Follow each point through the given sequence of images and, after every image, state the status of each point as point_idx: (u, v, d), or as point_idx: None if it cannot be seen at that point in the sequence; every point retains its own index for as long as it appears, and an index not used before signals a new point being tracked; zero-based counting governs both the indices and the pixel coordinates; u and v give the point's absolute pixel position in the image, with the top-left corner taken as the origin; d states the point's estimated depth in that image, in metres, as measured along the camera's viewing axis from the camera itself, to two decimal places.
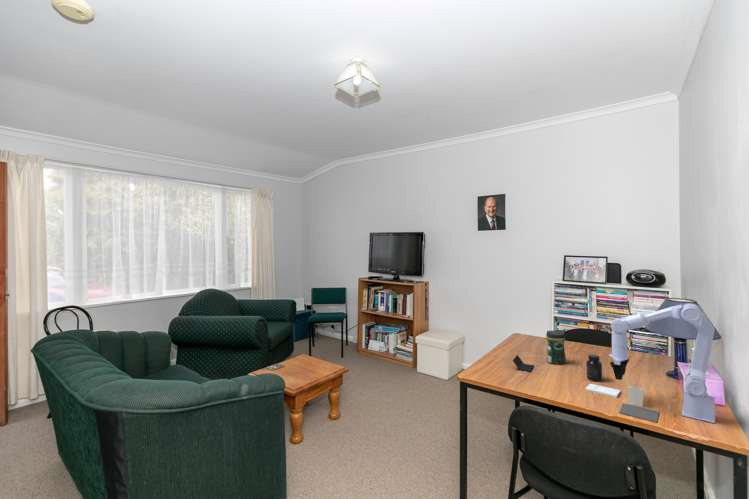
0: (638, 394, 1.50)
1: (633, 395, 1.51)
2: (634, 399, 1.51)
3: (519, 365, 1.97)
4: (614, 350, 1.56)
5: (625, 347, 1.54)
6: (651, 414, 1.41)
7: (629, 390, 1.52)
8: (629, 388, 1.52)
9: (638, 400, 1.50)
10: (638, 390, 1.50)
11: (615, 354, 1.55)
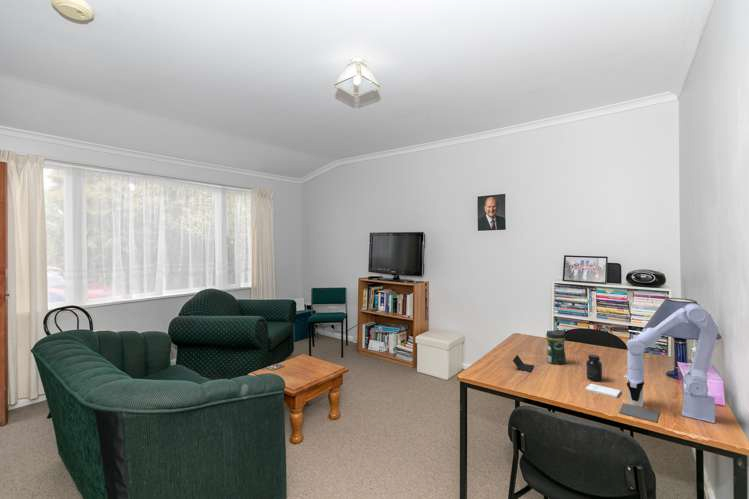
0: None
1: None
2: None
3: (519, 365, 1.97)
4: (630, 372, 1.51)
5: (641, 369, 1.49)
6: (651, 414, 1.41)
7: (629, 390, 1.52)
8: None
9: (638, 400, 1.50)
10: None
11: (631, 376, 1.50)
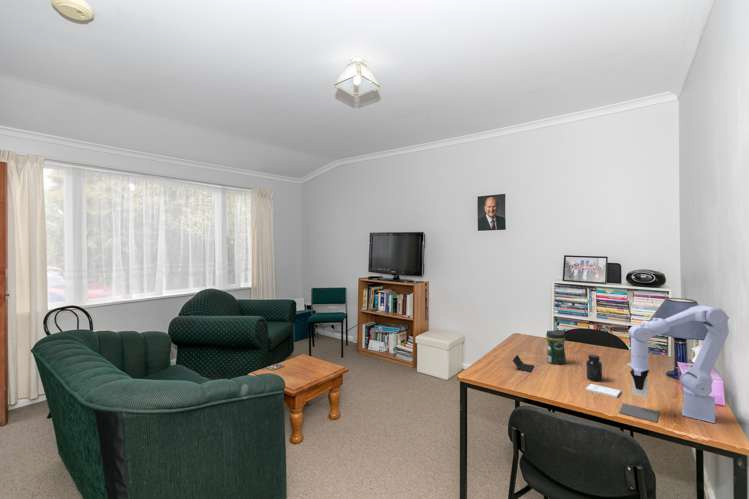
0: None
1: None
2: (638, 390, 1.45)
3: (519, 365, 1.97)
4: (634, 359, 1.45)
5: (646, 356, 1.43)
6: (651, 414, 1.41)
7: (633, 381, 1.46)
8: None
9: (643, 391, 1.44)
10: None
11: (635, 364, 1.45)
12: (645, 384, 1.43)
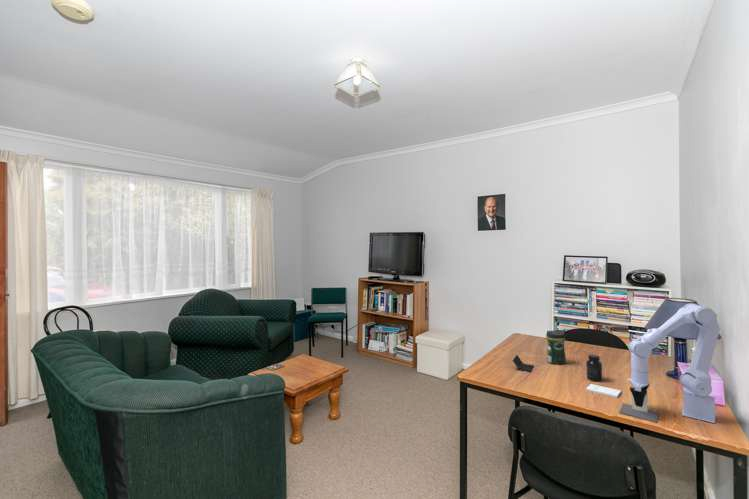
0: None
1: None
2: None
3: (519, 365, 1.97)
4: (634, 374, 1.45)
5: (646, 372, 1.43)
6: (651, 414, 1.41)
7: None
8: None
9: None
10: None
11: (635, 379, 1.45)
12: (645, 399, 1.43)
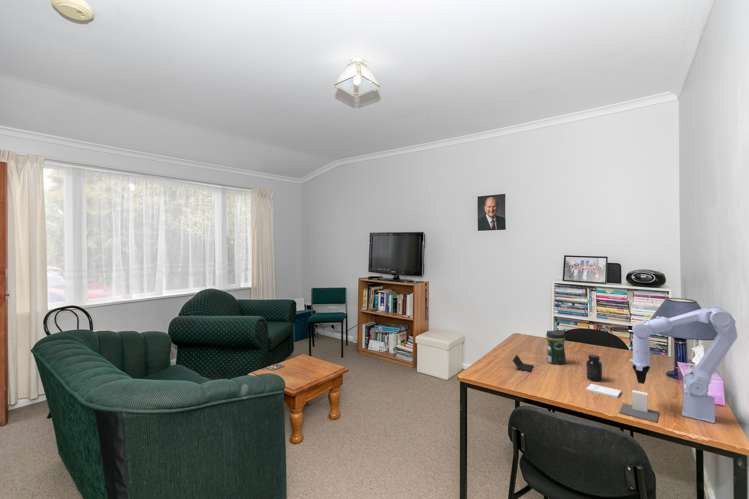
0: (642, 399, 1.44)
1: (637, 400, 1.45)
2: (638, 404, 1.45)
3: (519, 365, 1.97)
4: (635, 355, 1.49)
5: (647, 352, 1.47)
6: (651, 414, 1.41)
7: (633, 395, 1.46)
8: (633, 393, 1.46)
9: (642, 405, 1.44)
10: (642, 395, 1.44)
11: (636, 359, 1.49)
12: (645, 399, 1.43)
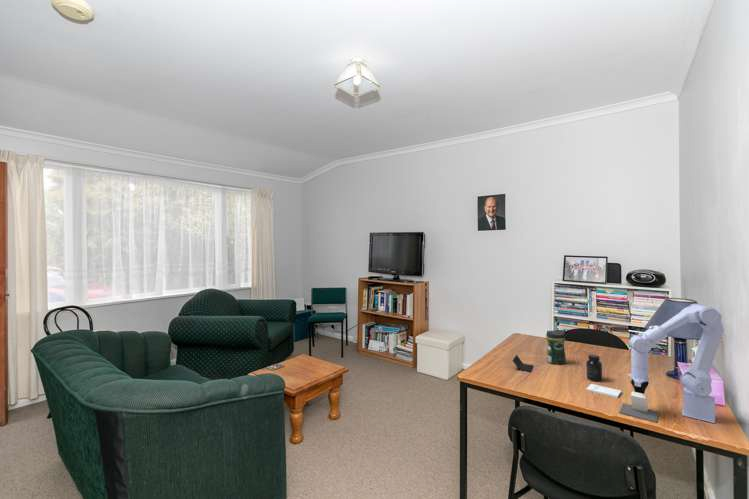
0: (642, 402, 1.43)
1: (637, 402, 1.44)
2: (638, 406, 1.44)
3: (519, 365, 1.97)
4: (634, 370, 1.45)
5: (646, 367, 1.43)
6: (651, 414, 1.41)
7: (632, 398, 1.44)
8: (632, 396, 1.44)
9: (642, 407, 1.43)
10: (642, 398, 1.42)
11: (635, 375, 1.45)
12: (644, 401, 1.42)
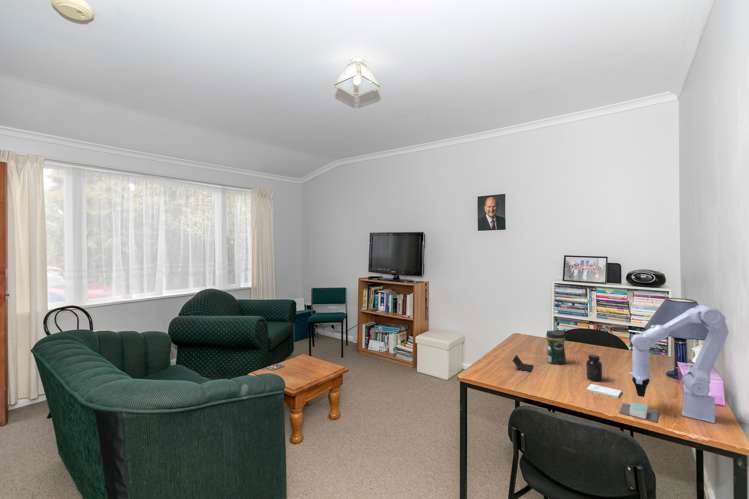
0: None
1: None
2: None
3: (519, 365, 1.97)
4: (635, 368, 1.48)
5: (647, 365, 1.46)
6: (651, 414, 1.41)
7: None
8: None
9: None
10: None
11: (636, 372, 1.48)
12: None
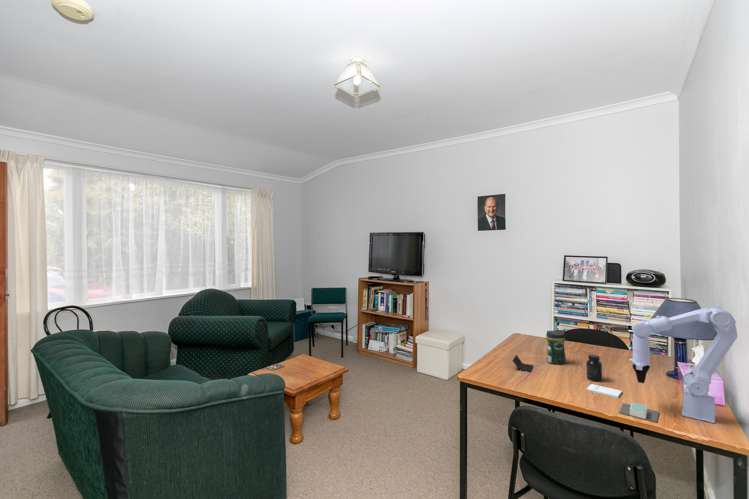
0: None
1: None
2: None
3: (519, 365, 1.97)
4: (635, 354, 1.49)
5: (647, 351, 1.47)
6: (651, 414, 1.41)
7: None
8: None
9: None
10: None
11: (636, 359, 1.49)
12: None
